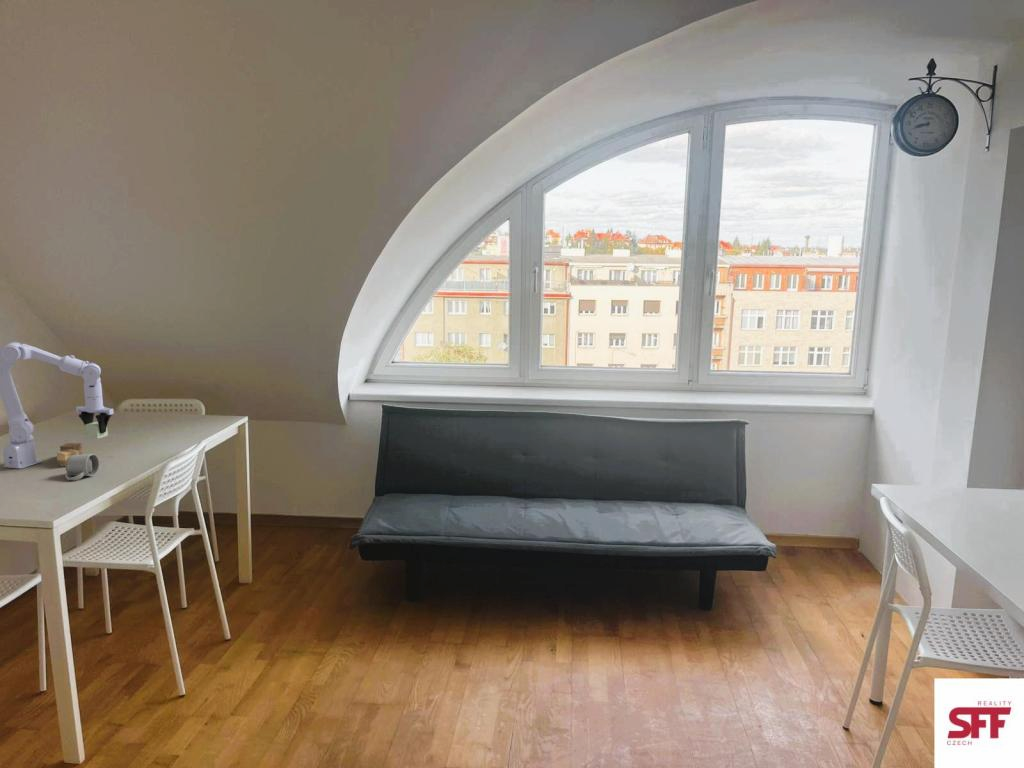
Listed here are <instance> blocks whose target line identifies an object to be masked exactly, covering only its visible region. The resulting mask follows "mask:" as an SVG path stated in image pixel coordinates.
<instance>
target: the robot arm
mask: <svg viewBox="0 0 1024 768" xmlns="http://www.w3.org/2000/svg"><path fill="white" fill-rule="evenodd" d="M20 359H22V360H23V361H25V360H30V359H34V360H38V361H42V362H44V363H49V364H51V365H55V366H58V368H59V370H60V371H61V372H65V373H67V374H71V375H73V376H77V377H81V378H82V379H83V392H84V403H85V404H84V406H83V405H82V406H80V405H79V406H76V407H75V411H76V413H77V414H78V413H79V414H78V418H79V419H80V420H81V421H82V423H83V425H84V426H85V425H86V424H89V423H93V422H94V418H96V420H97V421H96V422H98V424H99V431H100V433H105V432H106V428H107V429H108V423H109V421H110V418H111V417H112V415H114V414H115V413H114V408H110V407H106V406H104V400H103V387H102V382H101V381H102V379H101V376H100V375H101V374H102V373H101V372H102V369H101V367H100V366H99V365H98V364H96V363H95V362H90V361H88V360H85V361H84V360H81V359H79V358H75V355H73V354H71V355H65V356H60V355H56V354H54V353H51V352H49V351H46V350H43V349H41V348H39V347H36V346H33V345H29V344H27V343H21V342H18V341H10V342H8V343H7V344H6V345H5V344H4V345H3V346H2V347H1V348H0V397H1V401H2V403H3V407H4V409H5V412H6V414H7V424H8V427H9V429H8V436H9V438H10V441H9V443H8V444H5V445H4V447H3V451H2V452H3V460H4V462H3V463H4V465H2V467H3V468H9V469H10V468H11V469H20V470H21V469H25V468H27V467H31V466H34V465H37V464H41V463H43V460H41V459H37V454H36V444H35V437H34V436H33V434H32V433H34V428H35V427H34V424H33V422H31V421H30V419H29V418H28V415H27V414H26V413H25V410H24V408H23V406H22V403H21V400H20V397H19V395H18V391H17V389H16V386H15V383H14V380H13V379H14V378H13V376H12V374H11V369H12V368H13V367H14V365H15V363H16V362H17V361H20ZM94 416H95V417H94Z"/></svg>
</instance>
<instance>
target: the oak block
mask: <svg viewBox="0 0 1024 768" xmlns="http://www.w3.org/2000/svg"><path fill="white" fill-rule="evenodd" d="M73 455H79V451H77V450H73V449H67V450H63V451H60V450H59V451H56V462H57V466H59V465H62V466H61V467H63V466H65V467H64V468H66V461H67V459H68V458H69V457H70V456H73Z"/></svg>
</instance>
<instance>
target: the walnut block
mask: <svg viewBox="0 0 1024 768" xmlns="http://www.w3.org/2000/svg"><path fill="white" fill-rule="evenodd" d="M82 444H83V443H82V442H67V443H65V444H62V445H60V446H59V451H63V450H67V449H73V450H77V451H79V455H82V454H83V445H82Z"/></svg>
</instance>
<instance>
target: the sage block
mask: <svg viewBox="0 0 1024 768" xmlns="http://www.w3.org/2000/svg"><path fill="white" fill-rule="evenodd" d="M84 427H85V436H86V439H101V438H104V437H108V436H109V433H108V427H107V428H106V432H105V433H100V431H99V424H98V421H93V423H89V424H86V425H84Z"/></svg>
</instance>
